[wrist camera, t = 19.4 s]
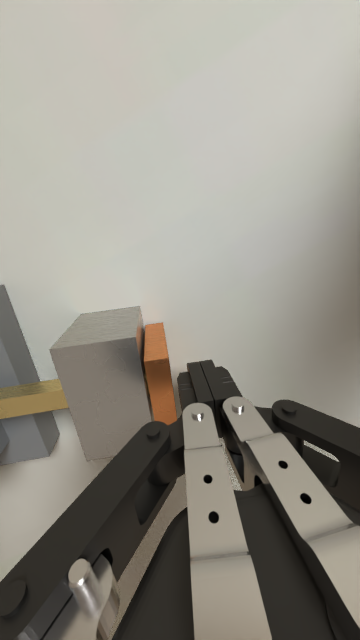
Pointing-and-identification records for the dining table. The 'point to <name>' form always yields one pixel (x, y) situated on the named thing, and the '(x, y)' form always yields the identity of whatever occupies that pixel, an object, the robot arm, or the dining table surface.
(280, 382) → the dining table surface
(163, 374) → the lock pin
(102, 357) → the block
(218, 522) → the robot arm
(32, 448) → the socket
